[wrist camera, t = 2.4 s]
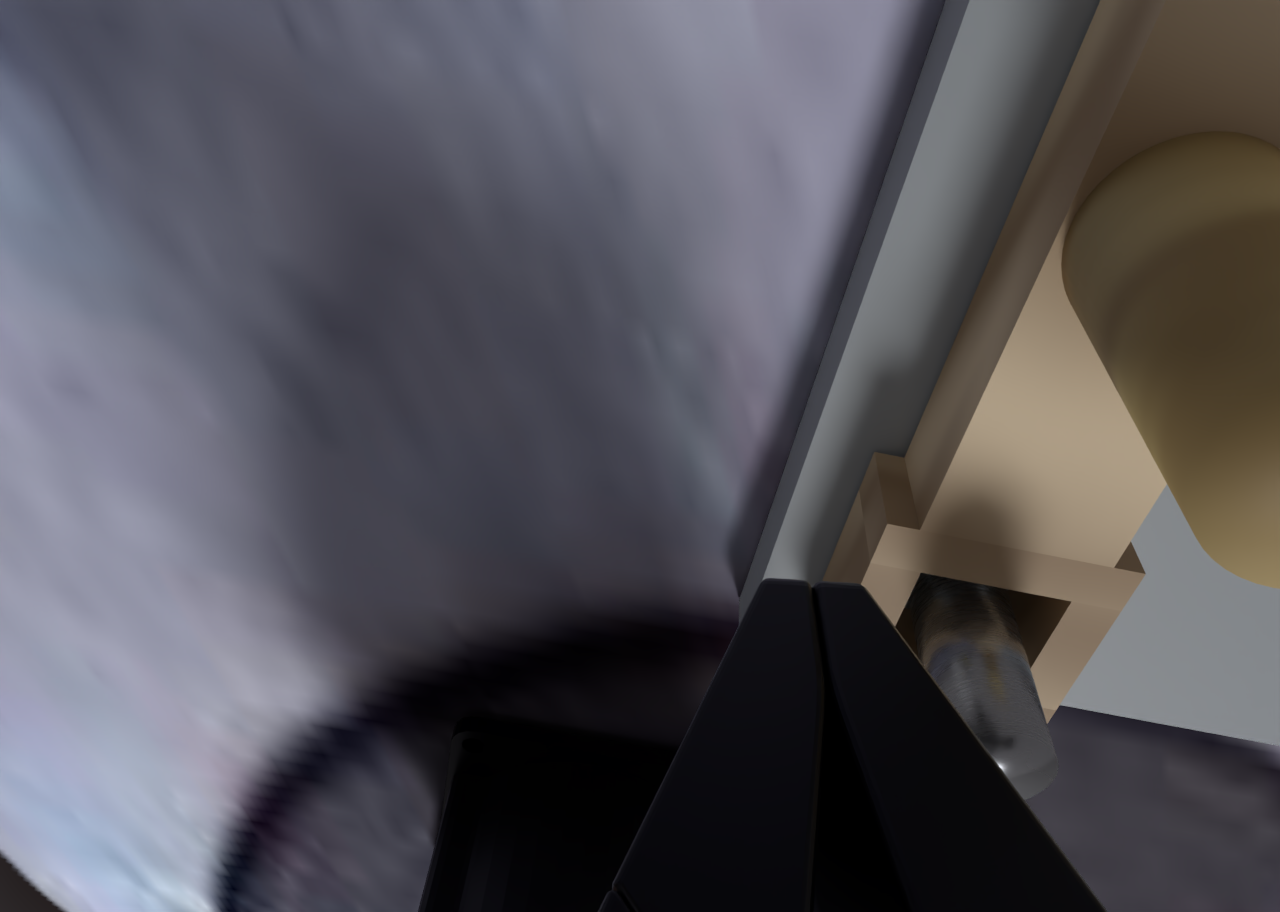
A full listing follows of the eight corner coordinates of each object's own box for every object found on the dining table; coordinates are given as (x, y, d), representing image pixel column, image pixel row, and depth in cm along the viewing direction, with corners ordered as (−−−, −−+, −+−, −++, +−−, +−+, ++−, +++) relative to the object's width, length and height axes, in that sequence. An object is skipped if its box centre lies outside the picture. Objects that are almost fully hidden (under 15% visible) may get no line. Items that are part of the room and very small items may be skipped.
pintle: (889, 584, 19) (923, 793, 15) (919, 517, 18) (965, 724, 14) (975, 600, 19) (1030, 813, 15) (1010, 535, 18) (1078, 745, 14)
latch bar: (1014, 661, 20) (1111, 1003, 15) (805, 622, 19) (830, 956, 14) (1534, -212, 11) (2188, -122, 6) (1177, -297, 11) (1551, -276, 6)
